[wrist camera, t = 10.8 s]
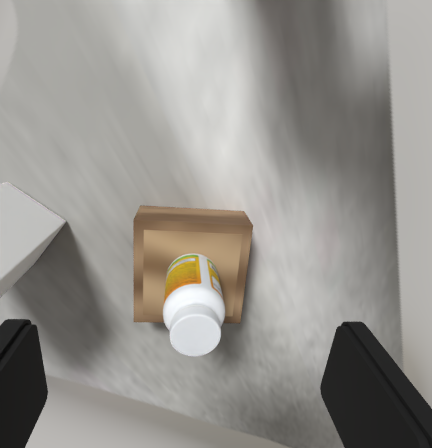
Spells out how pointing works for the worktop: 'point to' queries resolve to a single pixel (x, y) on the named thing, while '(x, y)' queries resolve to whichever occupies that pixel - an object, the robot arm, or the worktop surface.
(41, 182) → the worktop surface
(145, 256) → the pedestal
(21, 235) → the milk carton
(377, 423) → the robot arm
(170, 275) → the supplement bottle
